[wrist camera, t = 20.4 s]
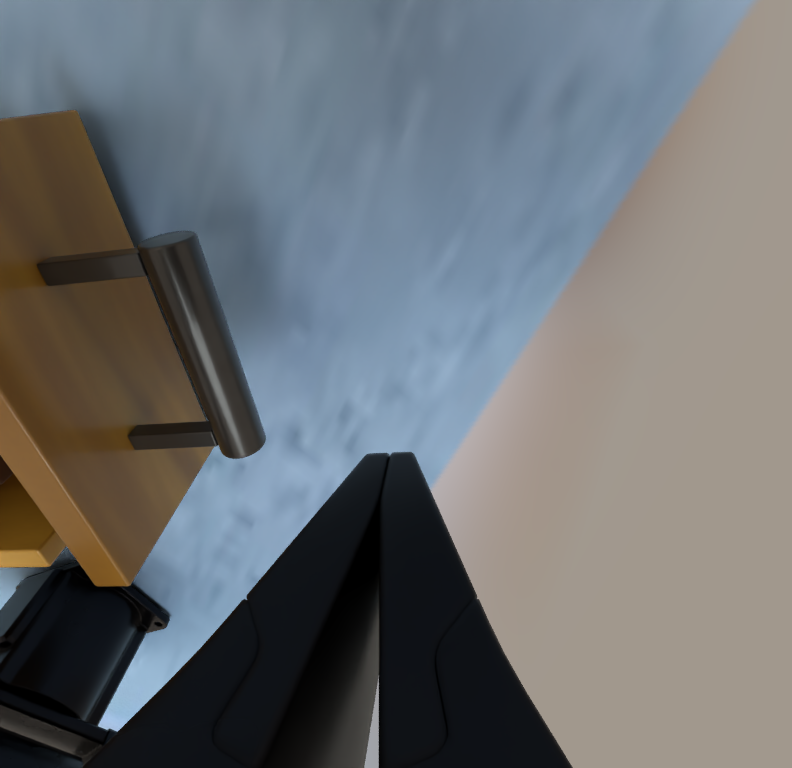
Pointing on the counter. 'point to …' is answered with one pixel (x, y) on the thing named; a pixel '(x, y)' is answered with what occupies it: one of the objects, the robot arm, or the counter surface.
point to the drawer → (101, 362)
